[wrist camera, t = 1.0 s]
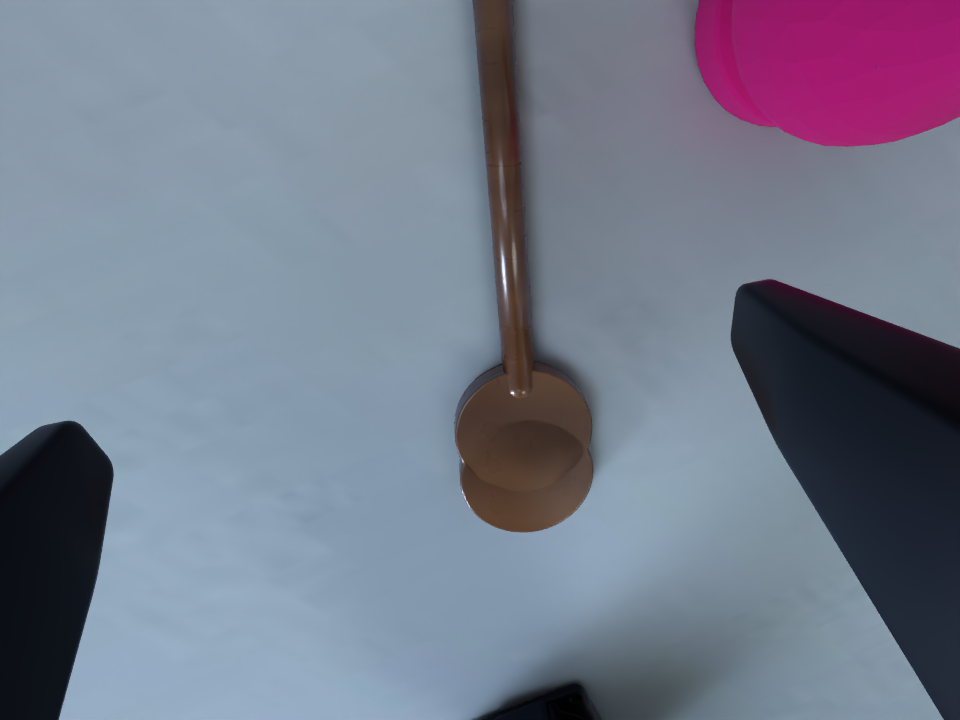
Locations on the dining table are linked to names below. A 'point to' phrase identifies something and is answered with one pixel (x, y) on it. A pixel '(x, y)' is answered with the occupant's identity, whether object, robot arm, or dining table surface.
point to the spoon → (516, 338)
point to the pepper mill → (833, 65)
